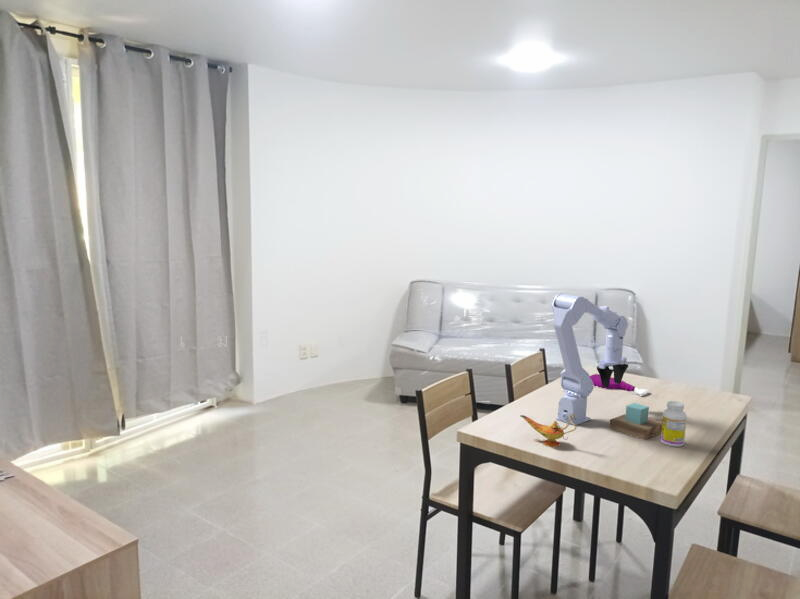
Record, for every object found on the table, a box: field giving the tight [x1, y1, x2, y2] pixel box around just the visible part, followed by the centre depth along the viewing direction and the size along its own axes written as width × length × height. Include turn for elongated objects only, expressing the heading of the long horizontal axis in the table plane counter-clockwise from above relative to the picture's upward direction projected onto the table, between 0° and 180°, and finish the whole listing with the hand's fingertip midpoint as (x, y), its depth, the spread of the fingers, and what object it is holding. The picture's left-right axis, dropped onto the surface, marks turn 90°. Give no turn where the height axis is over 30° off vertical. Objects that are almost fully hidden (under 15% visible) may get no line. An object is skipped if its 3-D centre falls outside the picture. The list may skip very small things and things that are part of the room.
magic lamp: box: [519, 414, 577, 448], centre depth 175 cm, size 7×18×11 cm, turn 55°
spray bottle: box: [589, 373, 649, 397], centre depth 231 cm, size 3×11×24 cm
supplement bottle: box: [660, 400, 688, 448], centre depth 175 cm, size 7×7×13 cm
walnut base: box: [608, 413, 662, 441], centre depth 186 cm, size 12×12×3 cm
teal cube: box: [625, 402, 650, 425], centre depth 186 cm, size 5×5×5 cm
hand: (611, 384), depth 204 cm, fingers open, 7 cm apart
